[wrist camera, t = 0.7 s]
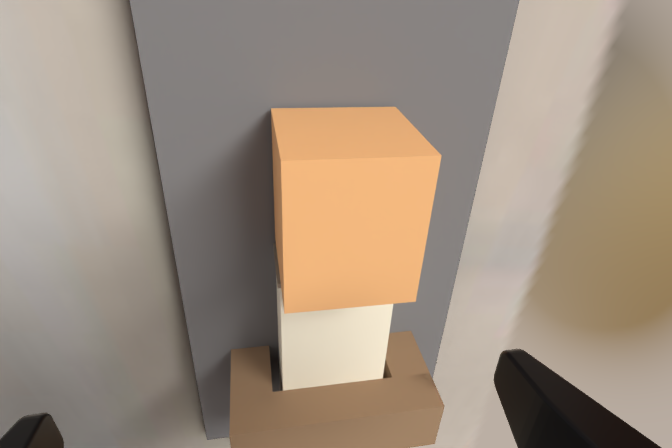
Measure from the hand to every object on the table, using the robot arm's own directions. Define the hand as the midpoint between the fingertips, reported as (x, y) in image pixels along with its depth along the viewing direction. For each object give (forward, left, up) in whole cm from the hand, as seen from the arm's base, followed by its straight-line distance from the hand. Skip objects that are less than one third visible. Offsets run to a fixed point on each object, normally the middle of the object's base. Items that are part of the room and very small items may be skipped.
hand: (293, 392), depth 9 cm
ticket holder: (-3, -3, -12) cm, 13 cm away
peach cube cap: (-1, -3, -11) cm, 12 cm away
